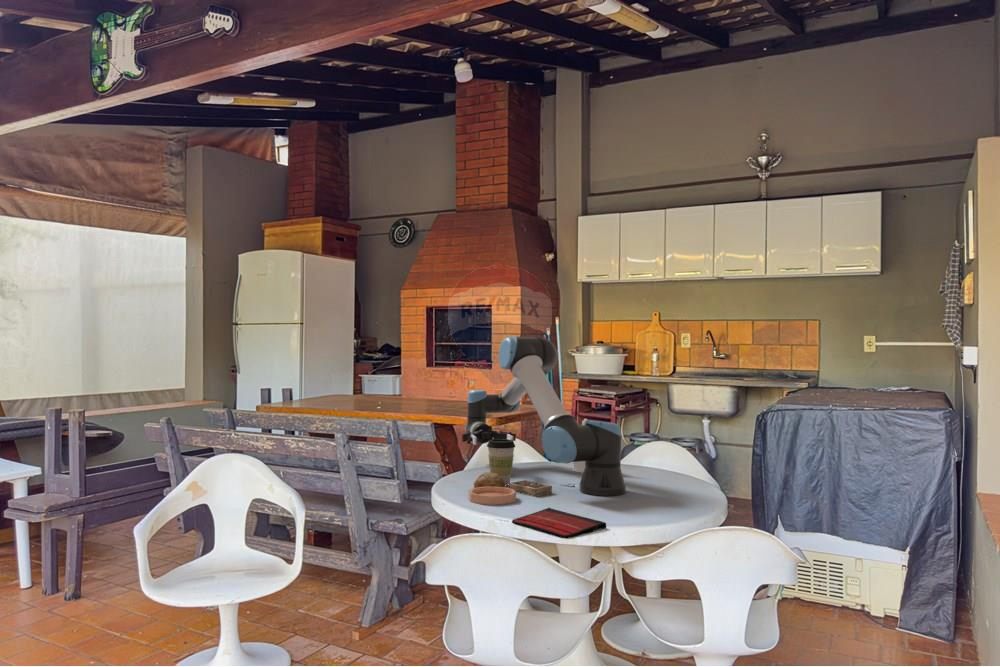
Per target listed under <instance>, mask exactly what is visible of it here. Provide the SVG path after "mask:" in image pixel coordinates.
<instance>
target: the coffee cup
mask: <svg viewBox="0 0 1000 667" xmlns="http://www.w3.org/2000/svg"><path fill="white" fill-rule="evenodd" d="M486 448H487V451H488V454H487V455H488V464H489V472H492V473H495V474H498V475H499V476H500V477H501V478H502V479H503V481H504V483H505V485H508V484H509V483H511V475H512V470H513V465H514V464H513V463H514V457H515V456H514V451H515V448H516V444H515V441H513V440H508V439H492V440H489V442H487V443H486ZM508 486H509V485H508Z"/></svg>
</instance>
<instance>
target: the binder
mask: <svg viewBox="0 0 1000 667" xmlns="http://www.w3.org/2000/svg"><path fill="white" fill-rule="evenodd" d="M511 524H513V525H516V526H521V527H525V528H529V529H533V530H535V531H536V530H537V531H539V532H543V533H546V534H551V535H553V536H555V537H557V538H561V539H570V538H575V537H577V536H578V537H579V536H582V535H587V534H592V533H595V532H597V531H598V530H597V529H596V528H600V529H607V523H606V522H605V521H601V520H597V519H594V518H589V517H586V516H581V515H577V514H573V513H569V512H565V511H562V510H560V509H559V510H558V509H556V508H555V509H554V508H551V507H547V508H543V509H542V510H538V511H535V512H532V513H530V514H526V515H524V516H521V517H517V518H514V519H512V521H511ZM595 529H596V530H595Z"/></svg>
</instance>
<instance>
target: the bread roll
mask: <svg viewBox="0 0 1000 667" xmlns="http://www.w3.org/2000/svg"><path fill="white" fill-rule="evenodd" d="M491 486H494V487H506V486H505V483H504V481H503V479H502V478H501V477H500V476H499V475H498V474H495V473H492V472H490V471H488V472H483V473H482V474H480V475H479V476H478V477H477V478H475V480H474V482H473V488H478V487H491Z"/></svg>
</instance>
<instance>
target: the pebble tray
mask: <svg viewBox="0 0 1000 667" xmlns="http://www.w3.org/2000/svg"><path fill="white" fill-rule="evenodd" d="M508 488H510V489H513V490H515V491H516V493H517V492H520V493H519V494H521V493H524V494H523V495H526V494H529V495H528V496H530V495H533V496H532V497H534V496H536V497H538V496H537V495H540V496H543V495H542V494H545V495H548V494H547V493H550V494H552V493H553V486H552V485H550V484H545V483H540V482H536V481H530V480H527V479H525V480H518V481H512V482H510V483H509V485H508Z"/></svg>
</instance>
